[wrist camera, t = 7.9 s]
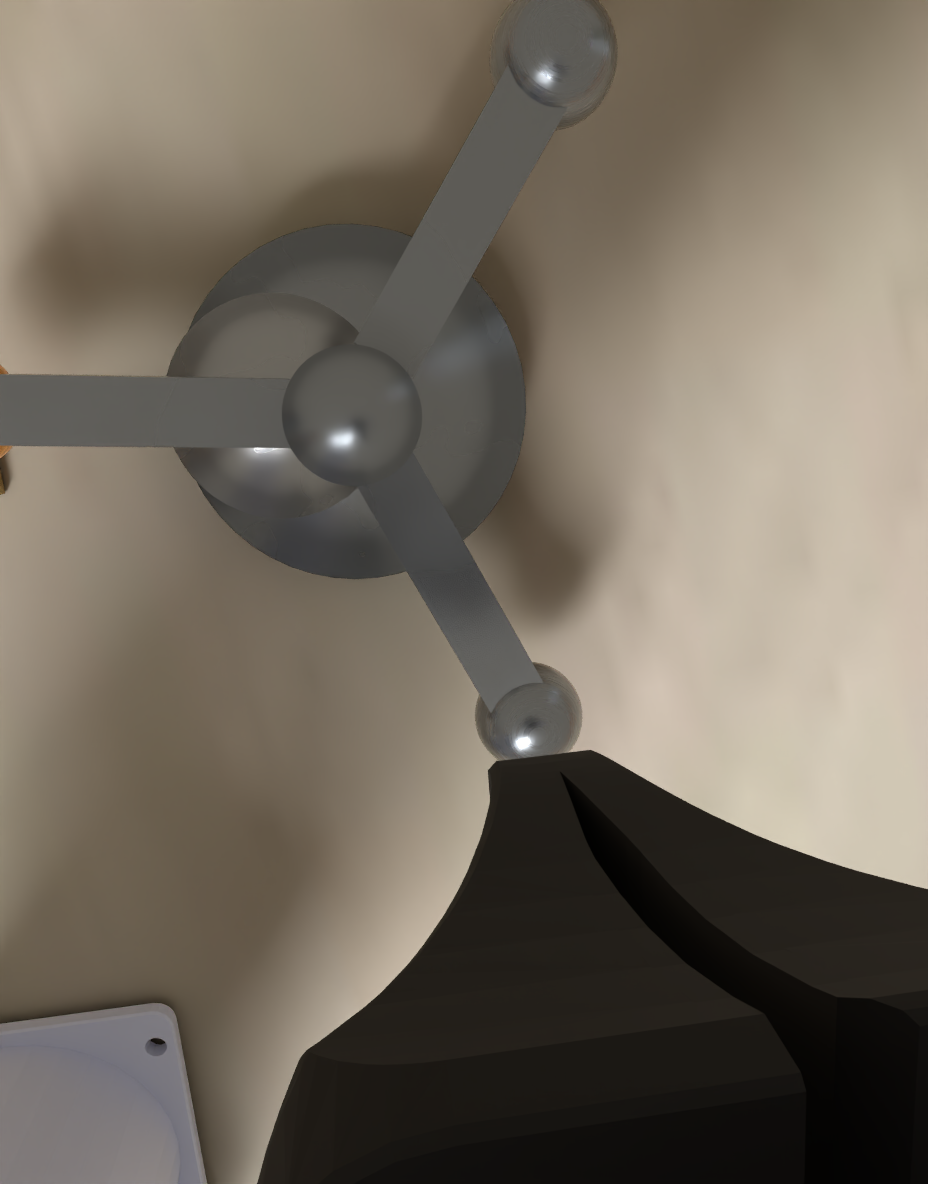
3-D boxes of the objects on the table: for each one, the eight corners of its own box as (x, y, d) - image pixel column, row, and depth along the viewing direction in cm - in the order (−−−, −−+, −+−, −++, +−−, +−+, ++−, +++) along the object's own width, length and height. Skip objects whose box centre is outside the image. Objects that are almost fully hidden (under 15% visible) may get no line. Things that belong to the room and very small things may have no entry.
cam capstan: (578, 51, 18) (639, -41, 14) (550, 710, 22) (592, 789, 18) (-82, 13, 17) (-226, -101, 13) (0, 723, 20) (-92, 812, 16)
